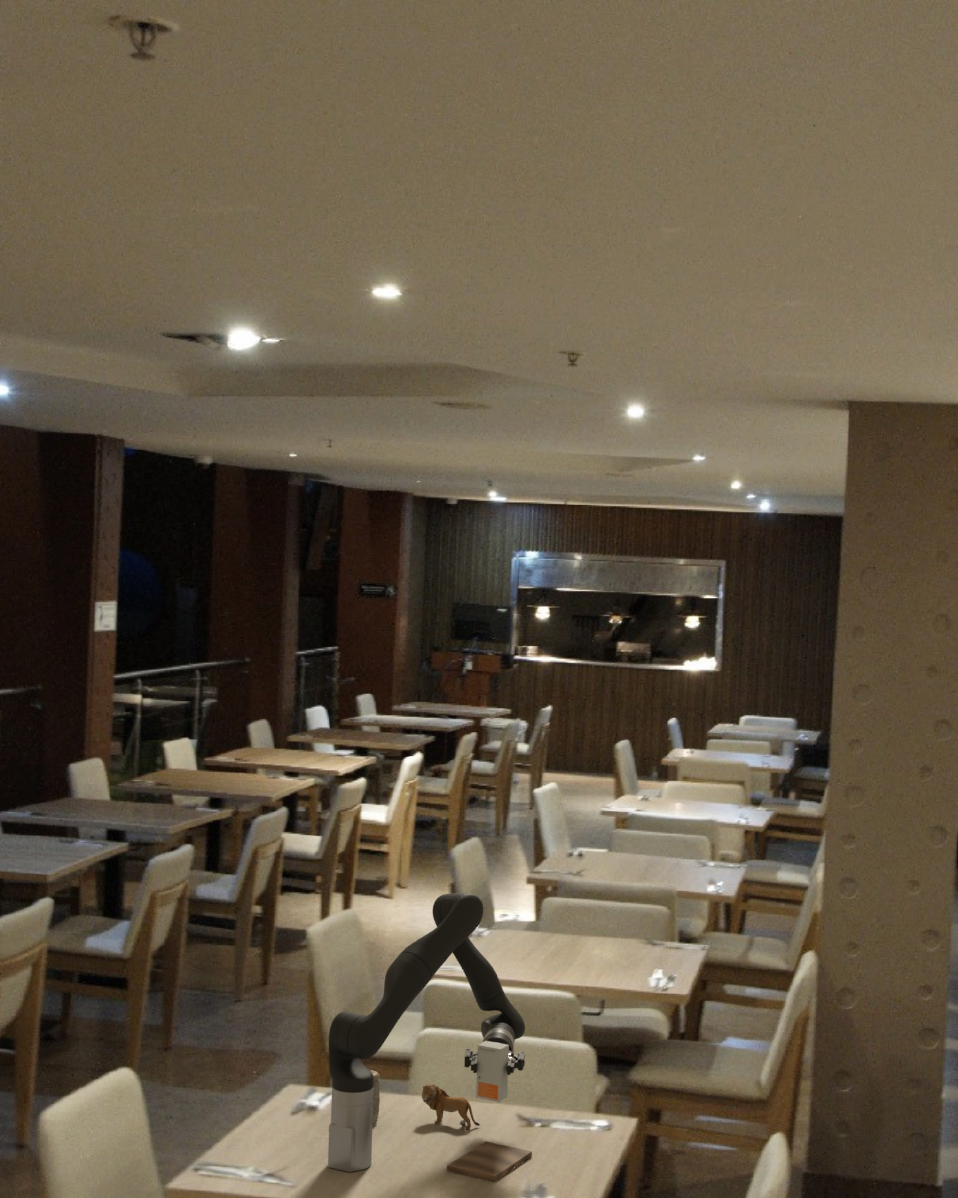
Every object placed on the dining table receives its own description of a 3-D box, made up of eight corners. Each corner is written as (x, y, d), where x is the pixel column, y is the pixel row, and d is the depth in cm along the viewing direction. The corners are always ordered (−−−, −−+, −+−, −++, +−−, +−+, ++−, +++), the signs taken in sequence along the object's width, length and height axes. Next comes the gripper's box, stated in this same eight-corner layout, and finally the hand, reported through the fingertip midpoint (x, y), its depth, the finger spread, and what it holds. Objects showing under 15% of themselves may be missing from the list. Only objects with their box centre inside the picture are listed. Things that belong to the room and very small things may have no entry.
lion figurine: (417, 1124, 375) (419, 1086, 375) (424, 1117, 380) (425, 1080, 380) (477, 1131, 371) (478, 1093, 371) (482, 1124, 376) (483, 1086, 376)
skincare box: (475, 1098, 350) (476, 1044, 350) (484, 1093, 354) (485, 1040, 353) (499, 1103, 347) (500, 1049, 347) (508, 1097, 351) (509, 1044, 351)
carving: (384, 1121, 377) (386, 1071, 377) (366, 1129, 370) (368, 1079, 370) (363, 1115, 380) (364, 1066, 380) (344, 1124, 373) (346, 1074, 373)
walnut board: (495, 1181, 339) (495, 1176, 339) (446, 1171, 345) (447, 1165, 345) (531, 1156, 355) (532, 1151, 355) (485, 1146, 361) (485, 1141, 361)
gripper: (467, 1030, 365) (460, 1051, 348) (528, 1033, 364) (524, 1054, 347) (466, 1062, 365) (459, 1084, 349) (527, 1065, 364) (523, 1088, 347)
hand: (492, 1069), depth 348 cm, fingers closed on skincare box, 7 cm apart
